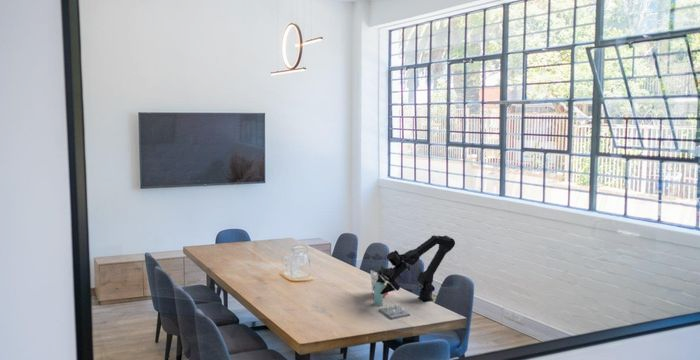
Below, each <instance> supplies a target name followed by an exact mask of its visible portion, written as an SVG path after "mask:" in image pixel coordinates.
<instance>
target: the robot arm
mask: <svg viewBox="0 0 700 360" xmlns="http://www.w3.org/2000/svg"><path fill="white" fill-rule="evenodd" d="M437 245H438V249H437V251H436V253H435V254H434V256H433V257H432V260H431V261H430V263H429V265H428V267H427V268H426V270H424V271H420V273H419V275H418V276H417V280H416V283H417V284H418V286H419V287H420V288H419V289H420V291H419V295H418V297H417V298H418V299H419V300H421V301H422V302H431V301H434V299H433V292H435V289H436V287H435V286H434V285H433V283H434V282H433V281H434V275H435V274H436V271H437V270H438V268H439V266H440V264H441V263H442V262H443V260H444V258H445V256H446V254H447V253H449V252H451V251H452V250H453V248H454V247H455V245H456V241H455V239H454V238H453V237H450V236H449V235H444V236H443V235H442V236H441V235H435V234H434V235H431V236H430V238H428V239H427V240H426V241H424V242H423V243H421V244H420V245H419V246H417V247H416V248H414V249H410V250H408V251H406V252H404V253H402V254H400V253H399V251H397V250H394V251H391V252H389V253H388V254H387V255H386V259H387V260H388V262H389V263H390V264H391V265H392V266H393V267H386V266H384V265H381V266H380V269H379V270H377V273H378V274H379V275H378V274H377V275H378V280H377V282H381V283H385V281H386V282H387V285H386V287H385V288H384V289H383V290H382V291H381V293H380V294H381V295H382V294H385V293H387V292H388V293H389V292H394V291H396V292H398V291H399V290H400V289H401V285H400V284H399V283H398V282H397V279H401V277H402V276H401V275H402V274H404V273H405V271H406V270H407V271H408V272H410V271H411V266H413V265H415V264H416V263H417V262H418V261H419V259H420V258H421V257H422V256H423V255H424V254H425V253H427V252H429V251H430V250H431V249H432V248H433V247H435V246H437ZM374 289H375V286H374Z"/></svg>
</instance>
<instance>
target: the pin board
mask: <svg viewBox="0 0 700 360" xmlns="http://www.w3.org/2000/svg"><path fill="white" fill-rule="evenodd" d="M378 311H379V312H381V313H382V314H384V315H385V316H386V317H387V318H389V319H391V320H394V319H399V318H406V317H410V316H411V313H410V312H408V311H406V309H404V307H400V306H399V305H398V303H394V305H392V306H391V305H390V306H389V304H386V305H385V307H381V308H380V307H379V308H378Z"/></svg>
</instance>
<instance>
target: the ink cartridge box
mask: <svg viewBox="0 0 700 360" xmlns="http://www.w3.org/2000/svg"><path fill="white" fill-rule="evenodd" d="M377 272H378V271H377ZM377 272H376V271H374V270H371V269H370V278H371V279H370V280H371V288H372V289H371V290H372V292H373V291H374V290H375V289H374V286H375V283H376V282H377V280H378V275H379V274H378V273H377ZM377 274H378V275H377ZM387 282H388V281H385V283H384V288H385V287H386V285H387ZM388 293H389V292H387V293H385V294H383V298H384V297H387V296H388V295H389V294H388Z"/></svg>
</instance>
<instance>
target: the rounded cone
mask: <svg viewBox="0 0 700 360" xmlns="http://www.w3.org/2000/svg"><path fill="white" fill-rule="evenodd" d="M383 289H384V283H381V282H376V283H375V290H374V293H373V306H375V307H383V301H384V297H383V294H382V295H381V294H380V293H381V291H382V290H383Z"/></svg>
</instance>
